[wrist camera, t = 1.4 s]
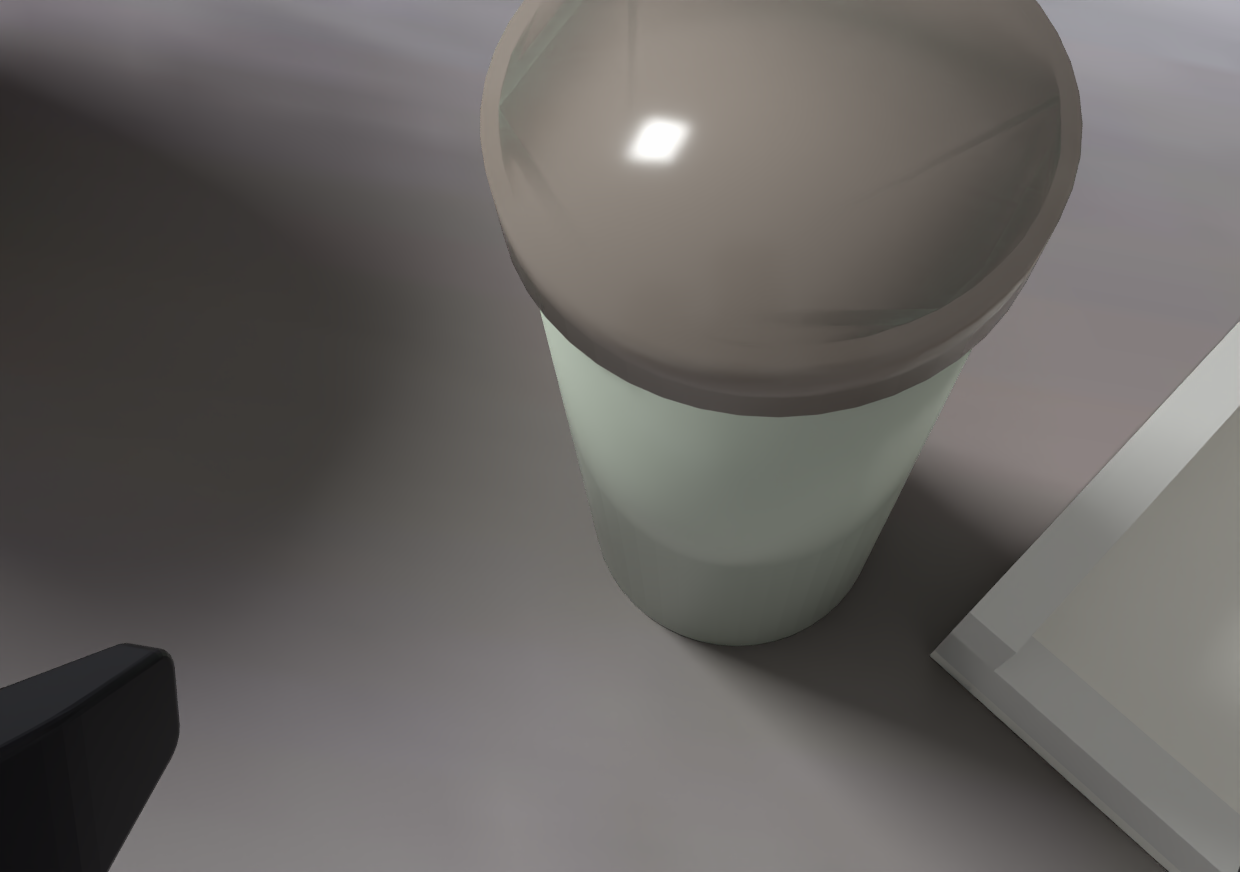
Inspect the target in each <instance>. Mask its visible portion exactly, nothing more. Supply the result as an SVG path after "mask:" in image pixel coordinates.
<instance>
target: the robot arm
mask: <svg viewBox="0 0 1240 872" xmlns="http://www.w3.org/2000/svg"><path fill="white" fill-rule="evenodd" d="M179 727H180V724H179V712H178V701H177V689H176V678H175V667H174V662H173V659H172V657H171V655H170V654H169V653H168V652H166V651H165V650H163V649H159V648H154V647H148V646H142V645H136V644H130V643H124V644H119V645H116V646H113V647H110V648H108V649H105V650H102V651H100V652H97V653H94V654H92V655H89V656H86V657H84V658H81V659H78V660H76V661H73V662H70V663H68V664H65V665H62V666H60V667H57V668H54V669H52V670H49V671H46V672H44V673H41V674H39V675H36V676H33V677H31V678H28V679H25V680H23V681H20V682H17V683H15V684H12V685H9V686H7V687H4V688H1V689H0V872H108V871H109V869H110V867H111V865H112V863H113V862H114V860H115V858H116V856H117V855H118V853H119V851H120V849H121V847H122V846H123V844H124V842H125V840H126V838H127V837H128V835H129V833H130V831H131V829H132V828H133V826H134V824H135V822H136V820H137V819H138V817H139V815H140V813H141V812H142V810H143V808H144V806H145V804H146V803H147V801H148V799H149V797H150V795H151V794H152V792H153V790H154V788H155V786H156V785H157V783H158V781H159V779H160V777H161V776H162V774H163V772H164V770H165V769H166V767H167V765H168V763H169V761H170V760H171V758H172V756H173V754H174V751H175V748H176V746H177V742H178V738H179ZM1238 872H1240V867H1239V869H1238Z"/></svg>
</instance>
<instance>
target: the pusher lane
mask: <svg viewBox="0 0 1240 872" xmlns="http://www.w3.org/2000/svg"><path fill="white" fill-rule="evenodd" d="M929 656H930V657H931V658H933V659H934V660H935V661H936V662H937V663H938V664H939V665H940V666H941V667H943V668H944V669H945V670H946V671H947V672H948V673H949V674H950V675H951V676H952V677H954V678H955V679H956V680H957V681H958V682H959V683H960V684H961V685H962V686H964V687H965V688H966V689H967V690H968V691H969V692H970V693H971V694H972V695H974V696H975V697H976V698H977V699H978V700H979V701H980V702H981V703H982V704H984V705H985V706H986V707H987V708H988V709H989V710H990V711H991V712H992V713H993V714H995V715H996V716H997V717H998V718H999V719H1000V720H1001V721H1002V722H1003V723H1005V724H1006V725H1007V726H1008V727H1009V728H1010V729H1011V730H1012V731H1013V732H1015V733H1016V734H1017V735H1018V736H1019V737H1020V738H1021V739H1022V740H1023V741H1024V742H1026V743H1027V744H1028V745H1029V746H1030V747H1031V748H1032V749H1033V750H1034V751H1036V752H1037V753H1038V754H1039V755H1040V756H1041V757H1042V758H1043V759H1044V760H1046V761H1047V762H1048V763H1049V764H1050V765H1051V766H1052V767H1053V768H1054V769H1056V770H1057V771H1058V772H1059V773H1060V774H1061V775H1062V776H1063V777H1064V778H1065V779H1067V780H1068V781H1069V782H1070V783H1071V784H1072V785H1073V786H1074V787H1075V788H1077V789H1078V790H1079V791H1080V792H1081V793H1082V794H1083V795H1084V796H1085V797H1087V798H1088V799H1089V800H1090V801H1091V802H1092V803H1093V804H1094V805H1095V806H1097V807H1098V808H1099V809H1100V810H1101V811H1102V812H1103V813H1104V814H1105V815H1106V816H1108V817H1109V818H1110V819H1111V820H1112V821H1113V822H1114V823H1115V824H1116V825H1118V826H1119V827H1120V828H1121V829H1122V830H1123V831H1124V832H1125V833H1126V834H1128V835H1129V836H1130V837H1131V838H1132V839H1133V840H1134V841H1135V842H1136V843H1137V844H1139V845H1140V846H1141V847H1142V848H1143V849H1144V850H1145V851H1146V852H1147V853H1149V854H1150V855H1151V856H1152V857H1153V858H1154V859H1155V860H1156V861H1157V862H1159V863H1160V864H1161V865H1162V866H1163V867H1164V868H1165V869H1166V870H1167V871H1169V872H1238V869H1239V867H1240V321H1239V322H1238V324H1237V325H1236V326H1235V327H1234V328H1233V329H1232V330H1231V331H1230V332H1229V333H1228V334H1227V335H1226V336H1225V338H1224V339H1223V340H1222V341H1221V342H1220V343H1219V344H1218V345H1217V346H1216V347H1215V348H1214V349H1213V350H1212V352H1211V353H1210V354H1209V355H1208V356H1207V357H1206V358H1205V359H1204V360H1203V361H1202V362H1201V363H1200V364H1199V366H1198V367H1197V368H1196V369H1195V370H1194V371H1193V372H1192V373H1191V374H1190V375H1189V376H1188V377H1187V378H1186V380H1185V381H1184V382H1183V383H1182V384H1181V385H1180V386H1179V387H1178V388H1177V389H1176V390H1175V391H1174V392H1173V394H1172V395H1171V396H1170V397H1169V398H1168V399H1167V400H1166V401H1165V402H1164V403H1163V404H1162V405H1161V406H1160V408H1159V409H1158V410H1157V411H1156V412H1155V413H1154V414H1153V415H1152V416H1151V417H1150V418H1149V419H1148V420H1147V422H1146V423H1145V424H1144V425H1143V426H1142V427H1141V428H1140V429H1139V430H1138V431H1137V432H1136V433H1135V434H1134V436H1133V437H1132V438H1131V439H1130V440H1129V441H1128V442H1127V443H1126V444H1125V445H1124V446H1123V447H1122V448H1121V450H1120V451H1119V452H1118V453H1117V454H1116V455H1115V456H1114V457H1113V458H1112V459H1111V460H1110V461H1109V462H1108V464H1107V465H1106V466H1105V467H1104V468H1103V469H1102V470H1101V471H1100V472H1099V473H1098V474H1097V475H1096V476H1095V478H1094V479H1093V480H1092V481H1091V482H1090V483H1089V484H1088V485H1087V486H1086V487H1085V488H1084V489H1083V490H1082V492H1081V493H1080V494H1079V495H1078V496H1077V497H1076V498H1075V499H1074V500H1073V501H1072V502H1071V503H1070V504H1069V506H1068V507H1067V508H1066V509H1065V510H1064V511H1063V512H1062V513H1061V514H1060V515H1059V516H1058V517H1057V518H1056V520H1055V521H1054V522H1053V523H1052V524H1051V525H1050V526H1049V527H1048V528H1047V529H1046V530H1045V531H1044V532H1043V534H1042V535H1041V536H1040V537H1039V538H1038V539H1037V540H1036V541H1035V542H1034V543H1033V544H1032V545H1031V546H1030V548H1029V549H1028V550H1027V551H1026V552H1025V553H1024V554H1023V555H1022V556H1021V557H1020V558H1019V559H1018V560H1017V562H1016V563H1015V564H1014V565H1013V566H1012V567H1011V568H1010V569H1009V570H1008V571H1007V572H1006V573H1005V574H1004V576H1003V577H1002V578H1001V579H1000V580H999V581H998V582H997V583H996V584H995V585H994V586H993V587H992V588H991V590H990V591H989V592H988V593H987V594H986V595H985V596H984V597H983V598H982V599H981V600H980V601H979V602H978V604H977V605H976V606H975V607H974V608H973V609H972V610H971V611H970V612H969V613H968V614H967V615H966V616H965V618H964V619H963V620H962V621H961V622H960V623H959V624H958V625H957V626H956V627H955V628H954V629H953V631H952V632H951V633H950V634H949V635H948V636H947V637H946V638H945V639H944V640H943V641H942V642H941V643H940V645H939V646H938V647H937V648H936V649H935V650H934V651H933V652H932V653H931V654H930V655H929Z"/></svg>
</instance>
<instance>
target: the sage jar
mask: <svg viewBox="0 0 1240 872" xmlns="http://www.w3.org/2000/svg"><path fill="white" fill-rule="evenodd" d="M480 140H481V147H482V153H483V159H484V165H485V171H486V175H487V178H488V182H489V185H490V189H491V193H492V196H493V200H494V203H495V207H496V211H497V214H498V218H499V221H500V225H501V229H502V232H503V235H504V239H505V242H506V245H507V248H508V251H509V254H510V257H511V260H512V263H513V265H514V267H515V269H516V271H517V273H518V275H519V277H520V279H521V281H522V283H523V284H524V286H525V288H526V290H527V292H528V293H529V295H530V296H531V298H532V299H533V300H534V302H535V303H536V305H537V306H538V307H539V309H540V312H541V316H542V320H543V324H544V328H545V332H546V336H547V340H548V344H549V348H550V352H551V356H552V360H553V364H554V368H555V372H556V376H557V380H558V383H559V387H560V391H561V395H562V399H563V403H564V407H565V411H566V415H567V419H568V423H569V427H570V431H571V435H572V439H573V443H574V447H575V451H576V455H577V459H578V463H579V467H580V471H581V475H582V479H583V482H584V486H585V490H586V494H587V498H588V502H589V506H590V510H591V514H592V518H593V522H594V526H595V530H596V534H597V538H598V542H599V545H600V548H601V551H602V554H603V557H604V560H605V562H606V564H607V566H608V568H609V570H610V572H611V575H612V576H613V578H614V579H615V581H616V582H617V584H618V585H619V587H620V588H621V590H622V591H623V592H624V593H625V594H626V596H627V597H628V598H629V599H630V600H631V601H632V602H633V604H634V605H636V606H637V607H638V608H639V609H640V610H641V611H643V612H644V613H645V614H646V615H647V616H648V617H650V618H651V619H653V620H654V621H656V622H657V623H659V624H660V625H662V626H664V627H666V628H668V629H670V630H672V631H674V632H676V633H678V634H680V635H683V636H685V637H688V638H691V639H694V640H697V641H701V642H706V643H711V644H716V645H729V646H744V645H757V644H762V643H767V642H773V641H776V640H779V639H782V638H785V637H788V636H791V635H793V634H796V633H798V632H800V631H802V630H804V629H806V628H808V627H810V626H811V625H812V624H814V623H815V622H817V621H818V620H820V619H821V618H823V617H824V616H825V615H827V614H828V613H829V612H830V611H831V610H832V609H833V608H834V607H836V606H837V605H838V604H839V602H840V601H841V600H842V599H843V598H844V597H845V595H846V594H847V593H848V592H849V591H850V589H851V587H852V586H853V584H854V583H855V581H856V579H857V578H858V576H859V574H860V572H861V570H862V568H863V566H864V564H865V562H866V560H867V558H868V556H869V554H870V552H871V550H872V548H873V546H874V544H875V542H876V540H877V538H878V536H879V534H880V532H881V530H882V528H883V526H884V524H885V522H886V520H887V518H888V516H889V514H890V512H891V510H892V508H893V506H894V504H895V502H896V500H897V498H898V496H899V494H900V492H901V490H902V488H903V486H904V484H905V482H906V480H907V478H908V476H909V474H910V472H911V470H912V468H913V466H914V464H915V462H916V460H917V458H918V456H919V454H920V452H921V450H922V448H923V446H924V444H925V442H926V440H927V438H928V436H929V434H930V432H931V430H932V428H933V426H934V424H935V422H936V420H937V418H938V416H939V414H940V412H941V410H942V408H943V406H944V404H945V402H946V400H947V398H948V396H949V394H950V392H951V390H952V388H953V386H954V384H955V382H956V380H957V378H958V376H959V374H960V372H961V370H962V368H963V366H964V364H965V362H966V360H967V358H968V356H969V354H970V352H971V350H972V348H973V347H974V346H975V345H977V344H978V343H979V342H980V341H981V340H982V339H984V338H985V337H986V336H987V335H988V334H989V332H990V331H991V330H992V329H993V328H994V327H995V325H996V324H997V323H998V322H999V321H1000V320H1001V319H1002V317H1003V316H1004V315H1005V314H1006V313H1007V312H1008V310H1009V309H1010V307H1011V306H1012V304H1013V302H1014V301H1015V299H1016V298H1017V296H1018V295H1019V293H1020V291H1021V290H1022V288H1023V287H1024V285H1025V284H1026V282H1027V280H1028V278H1029V276H1030V274H1031V272H1032V270H1033V269H1034V267H1035V265H1036V263H1037V261H1038V259H1039V257H1040V255H1041V254H1042V252H1043V250H1044V248H1045V246H1046V244H1047V242H1048V240H1049V239H1050V237H1051V235H1052V233H1053V231H1054V229H1055V227H1056V225H1057V223H1058V222H1059V220H1060V217H1061V215H1062V213H1063V210H1064V208H1065V206H1066V203H1067V201H1068V199H1069V196H1070V194H1071V192H1072V189H1073V185H1074V181H1075V177H1076V173H1077V169H1078V164H1079V160H1080V155H1081V140H1082V115H1081V105H1080V96H1079V90H1078V87H1077V83H1076V79H1075V76H1074V72H1073V68H1072V65H1071V61H1070V59H1069V57H1068V55H1067V53H1066V50H1065V48H1064V46H1063V44H1062V41H1061V39H1060V37H1059V35H1058V33H1057V31H1056V30H1055V28H1054V26H1053V25H1052V23H1051V22H1050V20H1049V19H1048V17H1047V16H1046V14H1045V12H1044V11H1043V9H1042V8H1041V6H1040V5H1039V4H1038V3H1037V1H1036V0H524V2H523V3H522V4H521V6H520V7H519V9H518V10H517V12H516V13H515V14H514V16H513V17H512V19H511V20H510V22H509V23H508V25H507V27H506V29H505V31H504V33H503V35H502V37H501V39H500V41H499V43H498V45H497V47H496V49H495V51H494V54H493V57H492V60H491V63H490V66H489V69H488V72H487V75H486V79H485V85H484V90H483V96H482V102H481V108H480Z"/></svg>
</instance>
